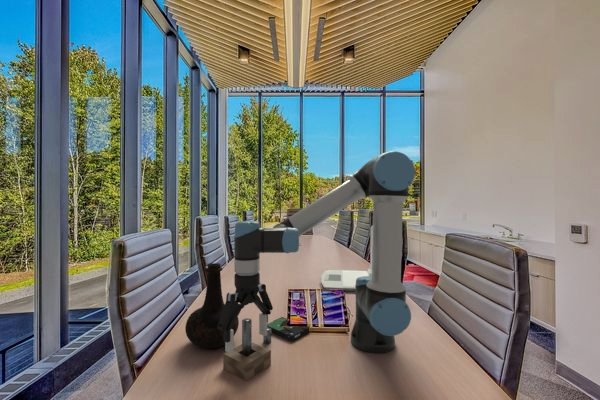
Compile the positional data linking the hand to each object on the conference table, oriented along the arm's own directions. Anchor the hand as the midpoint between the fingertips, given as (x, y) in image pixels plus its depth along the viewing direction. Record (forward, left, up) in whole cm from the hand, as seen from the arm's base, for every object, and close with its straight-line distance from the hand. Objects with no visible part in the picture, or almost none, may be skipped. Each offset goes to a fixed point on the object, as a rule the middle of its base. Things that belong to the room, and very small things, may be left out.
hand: (247, 342), depth 89 cm
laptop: (+19, -100, -8) cm, 102 cm away
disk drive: (+6, -26, -8) cm, 28 cm away
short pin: (+6, -15, -7) cm, 18 cm away
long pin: (0, 0, -7) cm, 7 cm away
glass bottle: (+21, -3, -8) cm, 22 cm away
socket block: (0, 0, -7) cm, 7 cm away
